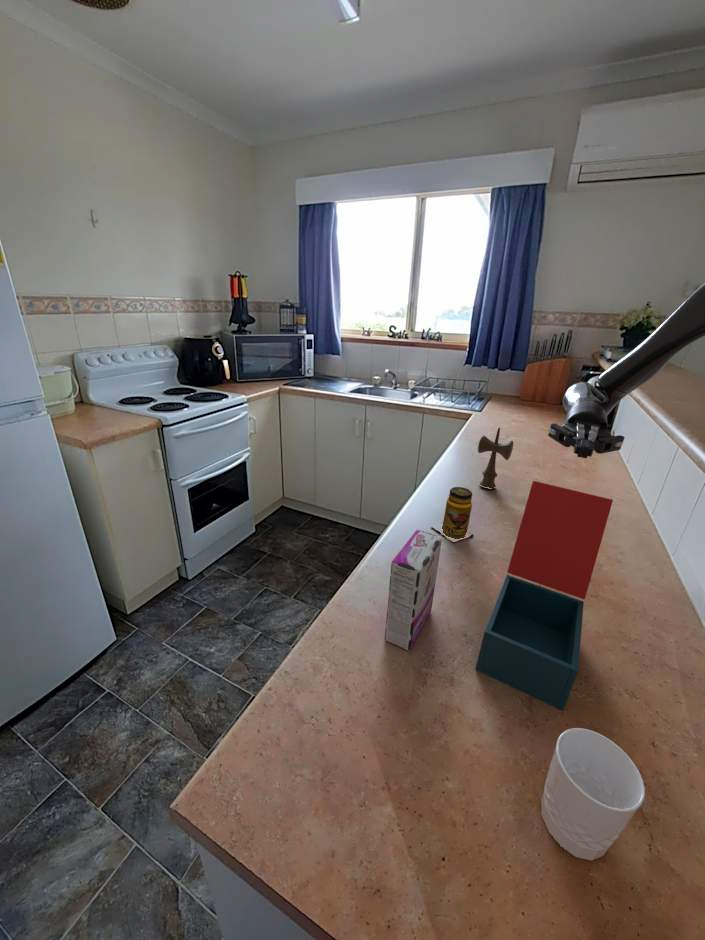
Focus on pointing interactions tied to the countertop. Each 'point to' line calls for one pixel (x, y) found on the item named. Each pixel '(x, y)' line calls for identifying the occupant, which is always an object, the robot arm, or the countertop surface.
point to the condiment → (457, 513)
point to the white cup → (589, 793)
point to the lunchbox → (533, 641)
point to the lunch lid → (560, 538)
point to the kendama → (493, 457)
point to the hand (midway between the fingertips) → (583, 452)
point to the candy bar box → (412, 588)
